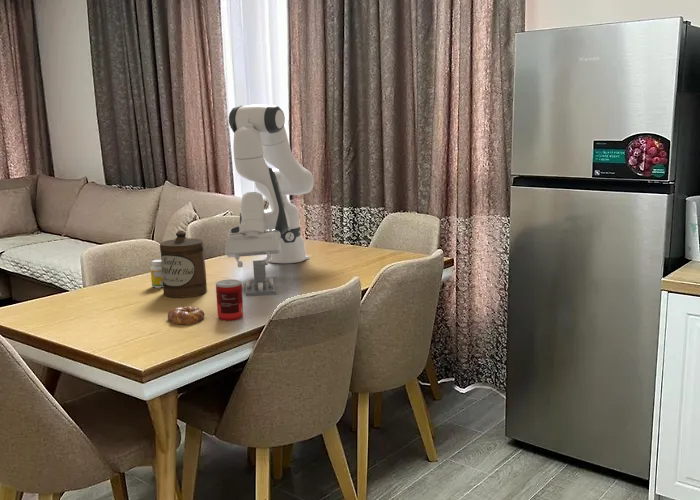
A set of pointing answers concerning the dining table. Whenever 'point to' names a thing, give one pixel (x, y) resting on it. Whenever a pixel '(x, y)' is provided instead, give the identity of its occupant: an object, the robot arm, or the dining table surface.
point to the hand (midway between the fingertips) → (253, 265)
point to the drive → (259, 273)
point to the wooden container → (183, 267)
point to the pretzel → (185, 315)
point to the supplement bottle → (156, 274)
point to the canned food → (229, 299)
